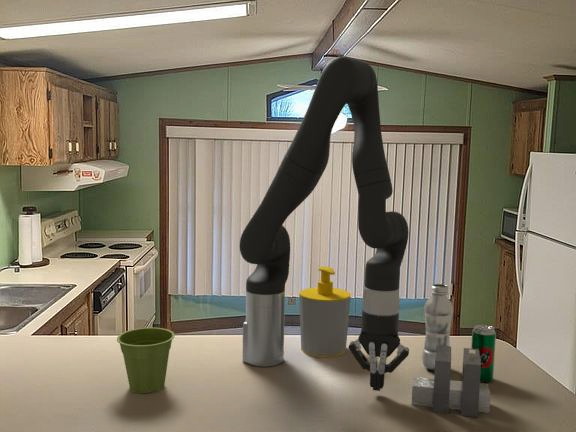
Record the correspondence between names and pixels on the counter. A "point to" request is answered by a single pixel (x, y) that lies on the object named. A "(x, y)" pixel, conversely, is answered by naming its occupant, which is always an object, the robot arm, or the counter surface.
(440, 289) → the plastic bottle
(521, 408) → the counter surface
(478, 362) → the collar
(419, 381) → the pale grey rectangular bar
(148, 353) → the plant pot
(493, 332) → the soda can
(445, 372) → the collar
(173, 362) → the counter surface
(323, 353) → the soap bottle
